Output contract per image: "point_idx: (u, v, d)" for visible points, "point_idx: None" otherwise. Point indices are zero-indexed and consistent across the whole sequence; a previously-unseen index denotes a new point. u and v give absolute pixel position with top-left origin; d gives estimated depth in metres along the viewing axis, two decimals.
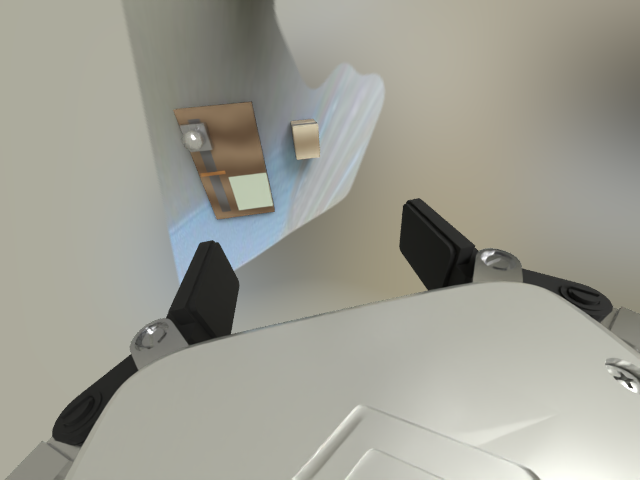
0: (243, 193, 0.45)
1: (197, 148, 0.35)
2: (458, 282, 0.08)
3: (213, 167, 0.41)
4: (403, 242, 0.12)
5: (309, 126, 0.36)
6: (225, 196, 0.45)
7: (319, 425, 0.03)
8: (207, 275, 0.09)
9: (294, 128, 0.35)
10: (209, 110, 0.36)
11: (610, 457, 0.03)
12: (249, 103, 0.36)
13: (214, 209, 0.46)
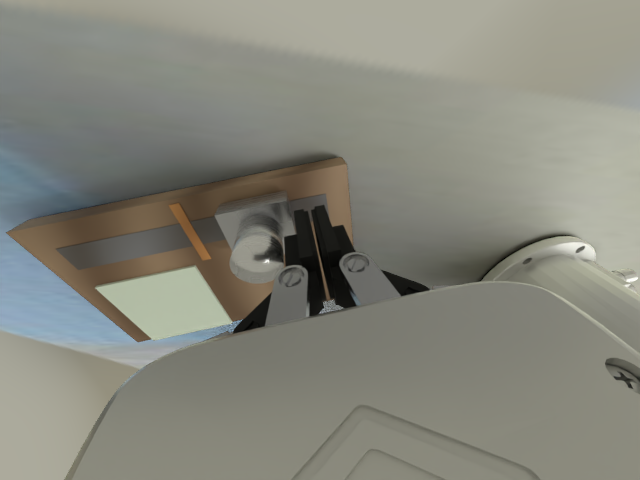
0: (159, 294, 0.17)
1: (241, 276, 0.12)
2: (333, 282, 0.09)
3: (211, 235, 0.15)
4: None
5: None
6: (127, 258, 0.15)
7: (319, 425, 0.03)
8: (313, 235, 0.10)
9: None
10: None
11: (610, 457, 0.03)
12: None
13: (51, 228, 0.13)
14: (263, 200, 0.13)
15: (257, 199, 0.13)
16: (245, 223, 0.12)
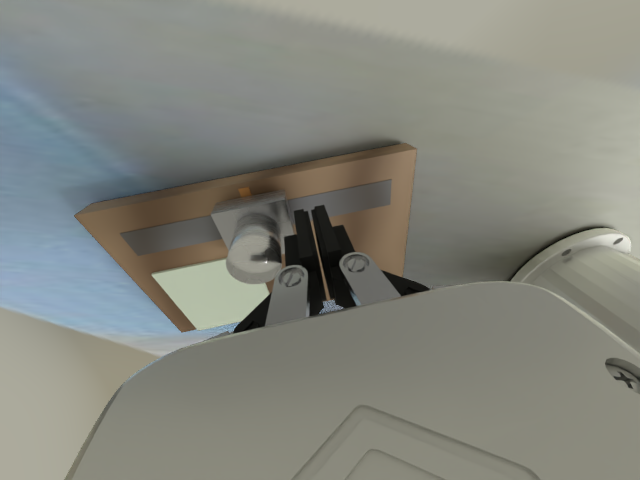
0: (213, 282, 0.17)
1: (238, 276, 0.11)
2: (333, 282, 0.09)
3: None
4: None
5: None
6: (188, 244, 0.15)
7: (319, 425, 0.03)
8: (313, 235, 0.10)
9: None
10: (401, 225, 0.17)
11: (610, 457, 0.03)
12: None
13: (118, 211, 0.13)
14: (261, 199, 0.13)
15: (254, 198, 0.13)
16: (242, 222, 0.12)
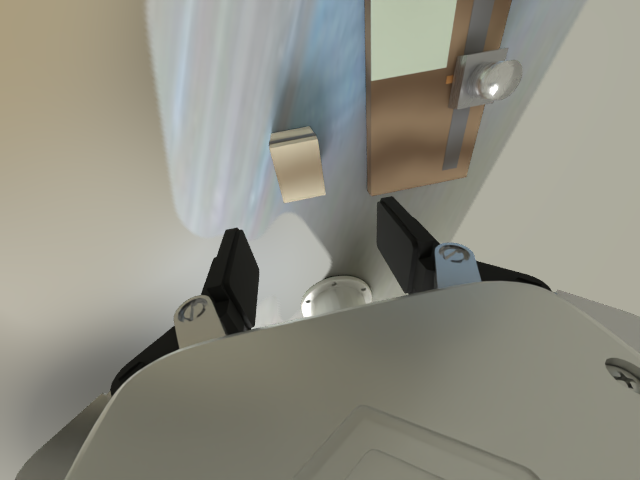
0: (433, 17, 0.18)
1: (503, 66, 0.17)
2: (421, 275, 0.09)
3: None
4: (379, 238, 0.12)
5: (298, 198, 0.21)
6: (473, 7, 0.19)
7: (319, 425, 0.03)
8: (236, 258, 0.09)
9: (322, 193, 0.21)
10: (425, 181, 0.27)
11: (610, 457, 0.03)
12: (373, 194, 0.27)
13: None
14: None
15: None
16: None
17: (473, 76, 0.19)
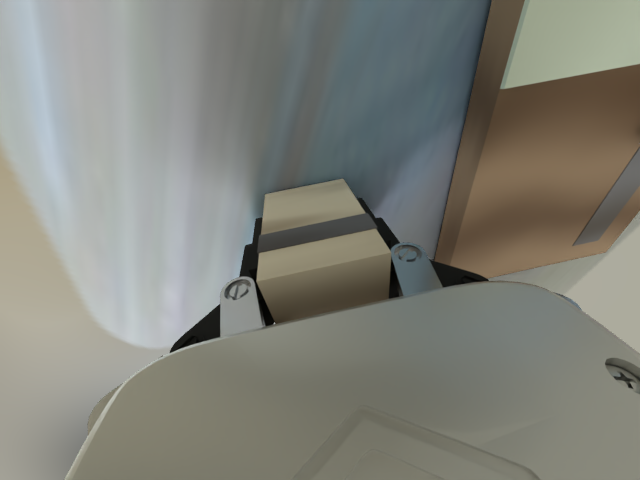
0: None
1: None
2: None
3: None
4: None
5: None
6: None
7: (319, 425, 0.03)
8: None
9: None
10: (538, 262, 0.15)
11: (610, 457, 0.03)
12: None
13: None
14: None
15: None
16: None
17: None
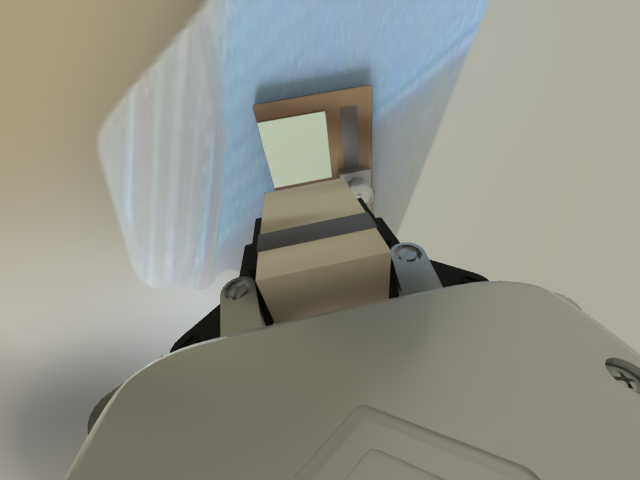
0: (312, 149, 0.25)
1: (358, 190, 0.24)
2: None
3: None
4: None
5: None
6: (343, 141, 0.25)
7: (319, 425, 0.03)
8: None
9: None
10: None
11: (610, 457, 0.03)
12: None
13: (369, 112, 0.24)
14: None
15: None
16: (367, 184, 0.26)
17: None
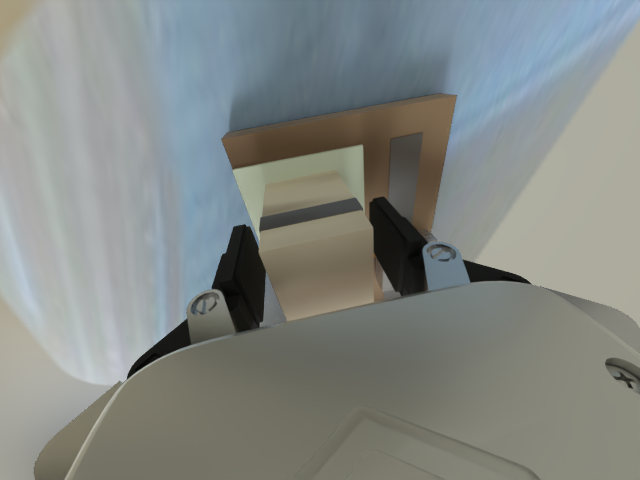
0: None
1: None
2: (409, 273, 0.09)
3: None
4: None
5: None
6: (389, 193, 0.14)
7: (319, 425, 0.03)
8: (245, 254, 0.10)
9: None
10: None
11: (610, 457, 0.03)
12: None
13: (443, 143, 0.13)
14: None
15: None
16: None
17: None
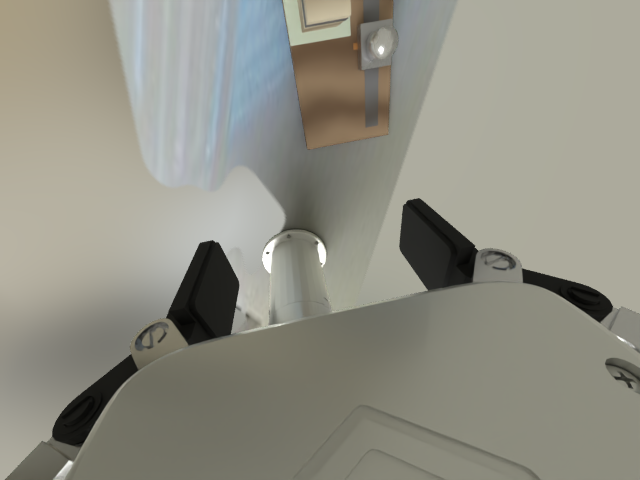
0: None
1: (381, 30, 0.23)
2: (458, 282, 0.08)
3: None
4: (403, 242, 0.12)
5: (322, 18, 0.20)
6: None
7: (319, 425, 0.03)
8: (207, 275, 0.09)
9: (348, 12, 0.20)
10: (352, 137, 0.33)
11: (610, 457, 0.03)
12: (309, 148, 0.33)
13: None
14: None
15: None
16: None
17: (367, 41, 0.25)
